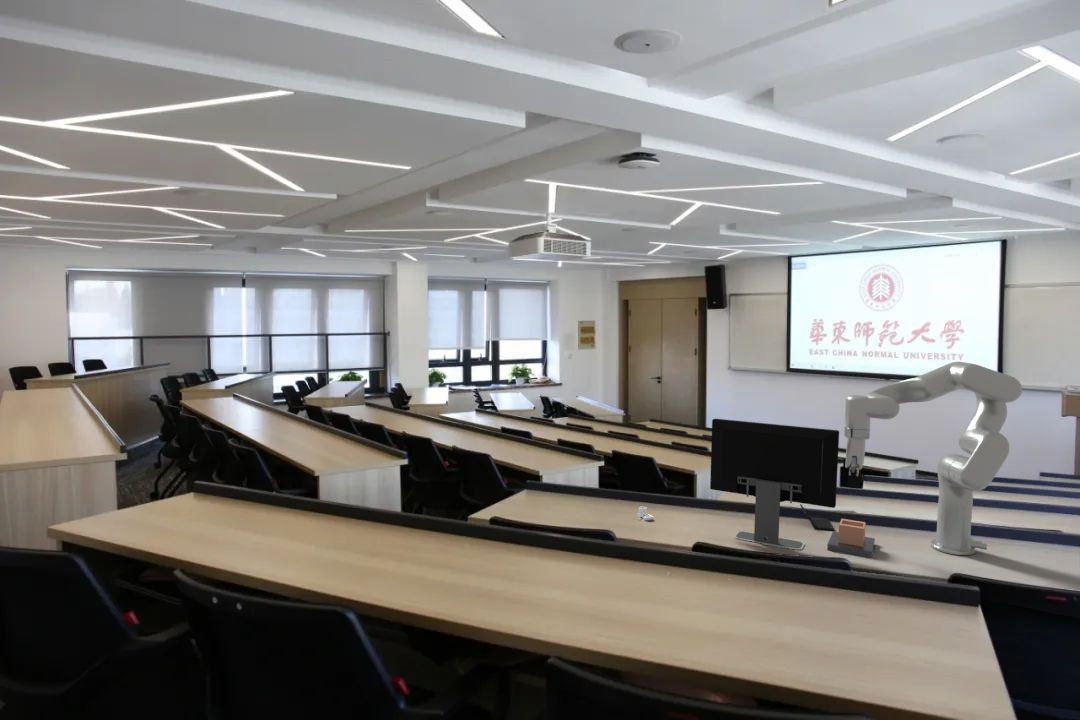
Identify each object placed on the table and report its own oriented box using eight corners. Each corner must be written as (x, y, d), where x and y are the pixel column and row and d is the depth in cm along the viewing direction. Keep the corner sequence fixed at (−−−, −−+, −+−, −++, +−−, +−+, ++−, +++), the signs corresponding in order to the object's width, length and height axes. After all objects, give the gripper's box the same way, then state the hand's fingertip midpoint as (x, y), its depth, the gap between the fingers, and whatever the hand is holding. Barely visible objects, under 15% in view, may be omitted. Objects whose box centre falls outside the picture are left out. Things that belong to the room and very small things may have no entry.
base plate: (874, 544, 224) (875, 523, 223) (871, 557, 212) (872, 536, 211) (832, 536, 231) (833, 517, 230) (827, 549, 219) (828, 529, 218)
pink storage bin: (838, 542, 220) (839, 524, 219) (840, 535, 226) (841, 518, 226) (862, 546, 216) (863, 528, 216) (864, 539, 222) (865, 522, 222)
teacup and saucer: (655, 522, 246) (655, 511, 246) (633, 522, 246) (633, 511, 246) (652, 514, 255) (652, 504, 254) (631, 514, 255) (631, 504, 254)
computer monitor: (834, 548, 220) (840, 429, 216) (831, 556, 213) (836, 433, 209) (712, 526, 241) (715, 417, 237) (705, 533, 233) (708, 421, 230)
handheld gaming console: (841, 526, 236) (821, 501, 237) (823, 540, 237) (803, 514, 238) (828, 520, 249) (809, 496, 250) (811, 532, 249) (792, 508, 250)
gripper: (847, 427, 227) (845, 476, 229) (841, 436, 212) (839, 488, 214) (871, 429, 223) (869, 479, 225) (867, 439, 209) (865, 492, 210)
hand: (855, 484), depth 219 cm, fingers open, 9 cm apart
